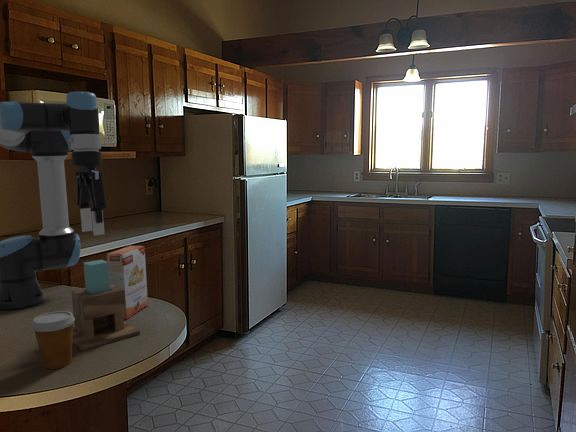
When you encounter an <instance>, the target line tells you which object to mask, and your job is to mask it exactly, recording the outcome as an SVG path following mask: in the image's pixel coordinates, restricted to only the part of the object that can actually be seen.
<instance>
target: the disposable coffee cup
mask: <svg viewBox="0 0 576 432" xmlns="http://www.w3.org/2000/svg"><path fill="white" fill-rule="evenodd" d="M74 320H75V317H74V313H72V312H71V311H67V310H58V311H51V312H46V313H42V314H39V315H37V316H35V317H34V318H33V320H32V324H31V328H32V330H33V331H34V334H35V338H36V343H37V346H38V350H39V355H40V358H41V359H40V360H41V362H42V366H43V368H44V369H46V370H56V369H58V370H59V369H61V368H65V367H67V366H68V365H70V364H71V363H72V362H73V361H72V360H73V342H72V341H73V329H74Z"/></svg>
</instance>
